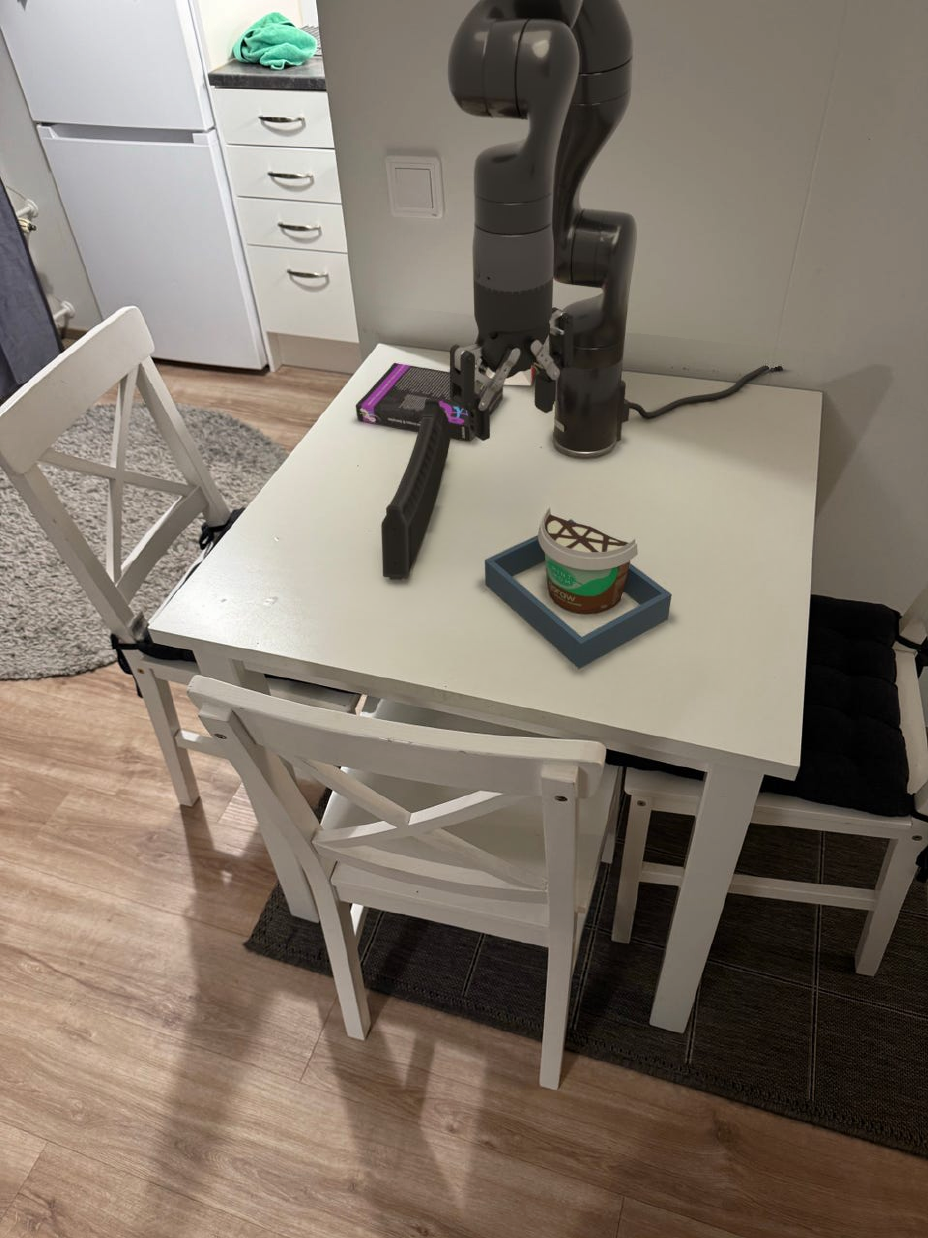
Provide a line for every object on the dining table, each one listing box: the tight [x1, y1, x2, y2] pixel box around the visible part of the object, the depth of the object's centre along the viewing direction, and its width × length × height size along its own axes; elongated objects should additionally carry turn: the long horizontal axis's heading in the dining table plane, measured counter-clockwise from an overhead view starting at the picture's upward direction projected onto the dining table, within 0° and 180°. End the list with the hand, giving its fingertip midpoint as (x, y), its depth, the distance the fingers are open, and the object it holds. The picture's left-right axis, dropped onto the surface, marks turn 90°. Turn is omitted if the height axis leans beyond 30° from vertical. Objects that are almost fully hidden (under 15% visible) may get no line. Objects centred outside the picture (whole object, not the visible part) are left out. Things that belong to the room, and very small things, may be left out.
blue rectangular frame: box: [484, 518, 673, 669], centre depth 109 cm, size 14×18×4 cm
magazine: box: [380, 399, 452, 581], centre depth 120 cm, size 17×3×30 cm
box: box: [354, 362, 504, 443], centre depth 143 cm, size 14×4×20 cm
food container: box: [537, 507, 639, 615], centre depth 107 cm, size 12×6×10 cm, turn 55°
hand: (513, 422), depth 96 cm, fingers open, 8 cm apart
